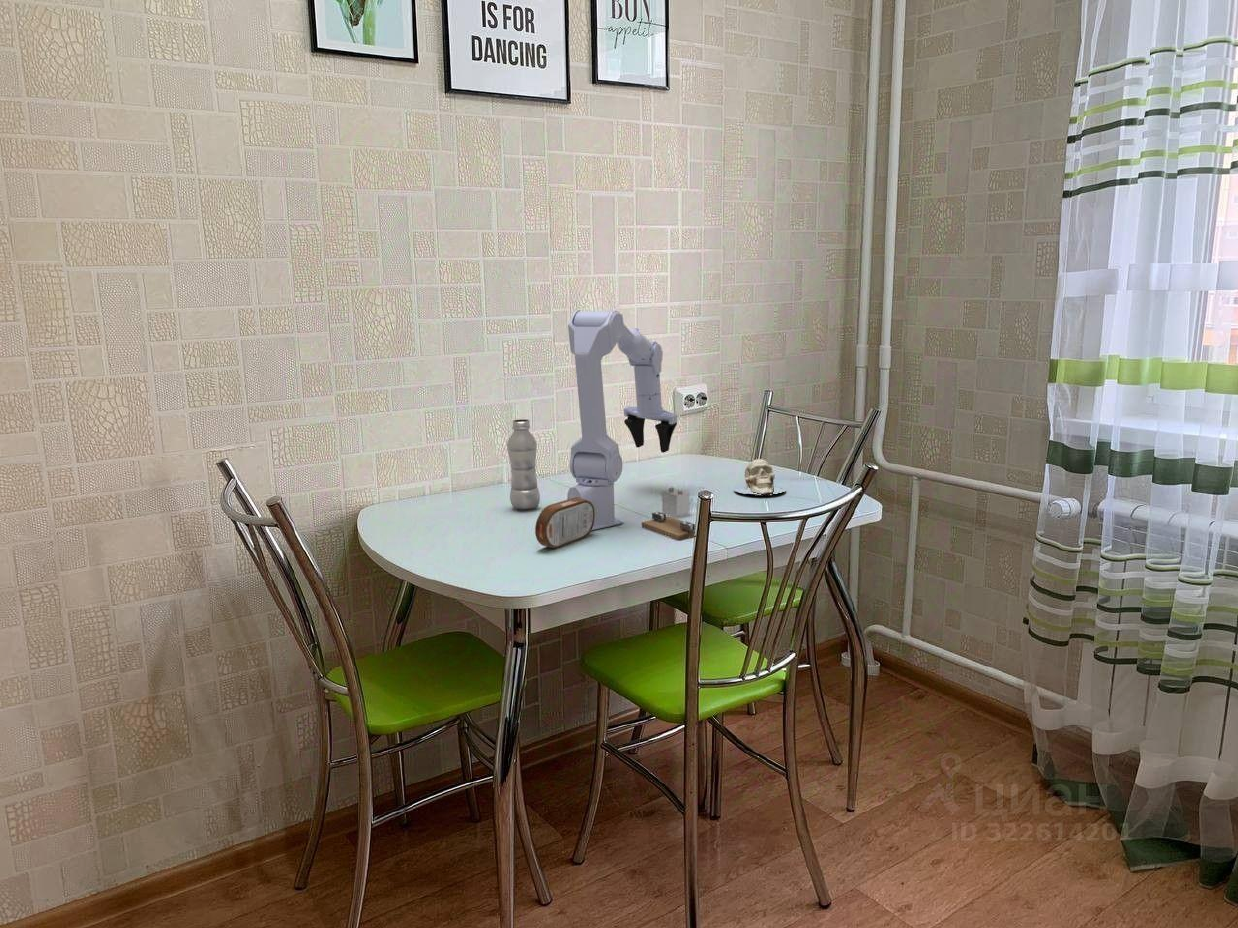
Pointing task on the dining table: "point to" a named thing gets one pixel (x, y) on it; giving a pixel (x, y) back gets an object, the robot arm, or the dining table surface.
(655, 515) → the chain ends
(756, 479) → the skull
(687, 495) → the grey toy brick
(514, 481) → the plastic bottle
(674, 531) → the board
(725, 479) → the dining table surface
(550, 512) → the tin
